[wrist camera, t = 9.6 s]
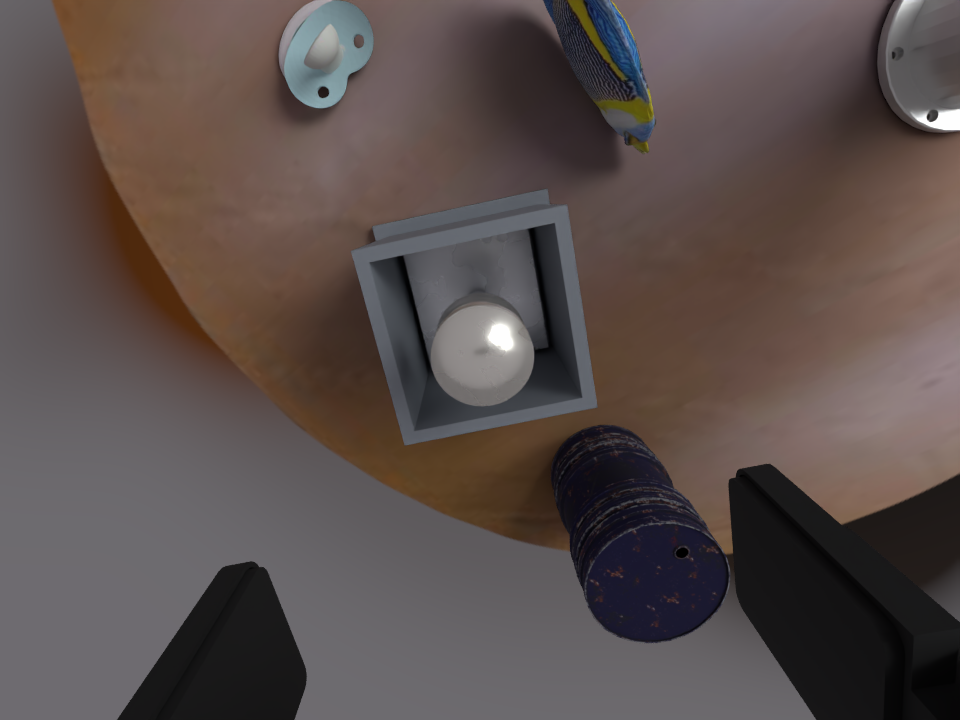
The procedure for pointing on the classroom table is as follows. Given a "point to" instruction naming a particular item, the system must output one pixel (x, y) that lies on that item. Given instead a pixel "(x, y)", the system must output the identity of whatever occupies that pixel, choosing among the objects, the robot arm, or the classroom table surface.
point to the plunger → (479, 315)
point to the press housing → (399, 337)
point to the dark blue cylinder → (635, 538)
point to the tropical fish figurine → (606, 64)
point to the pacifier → (324, 50)
